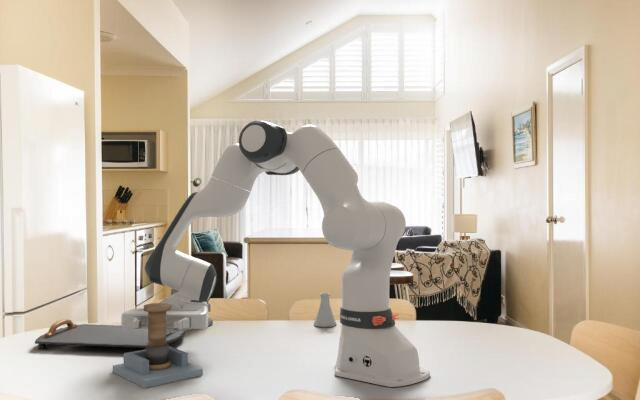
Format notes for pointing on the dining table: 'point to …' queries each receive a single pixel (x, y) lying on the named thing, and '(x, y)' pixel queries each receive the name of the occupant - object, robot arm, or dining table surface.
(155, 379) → the notched block
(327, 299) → the flask
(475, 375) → the dining table surface
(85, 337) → the serving board
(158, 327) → the bobbin
